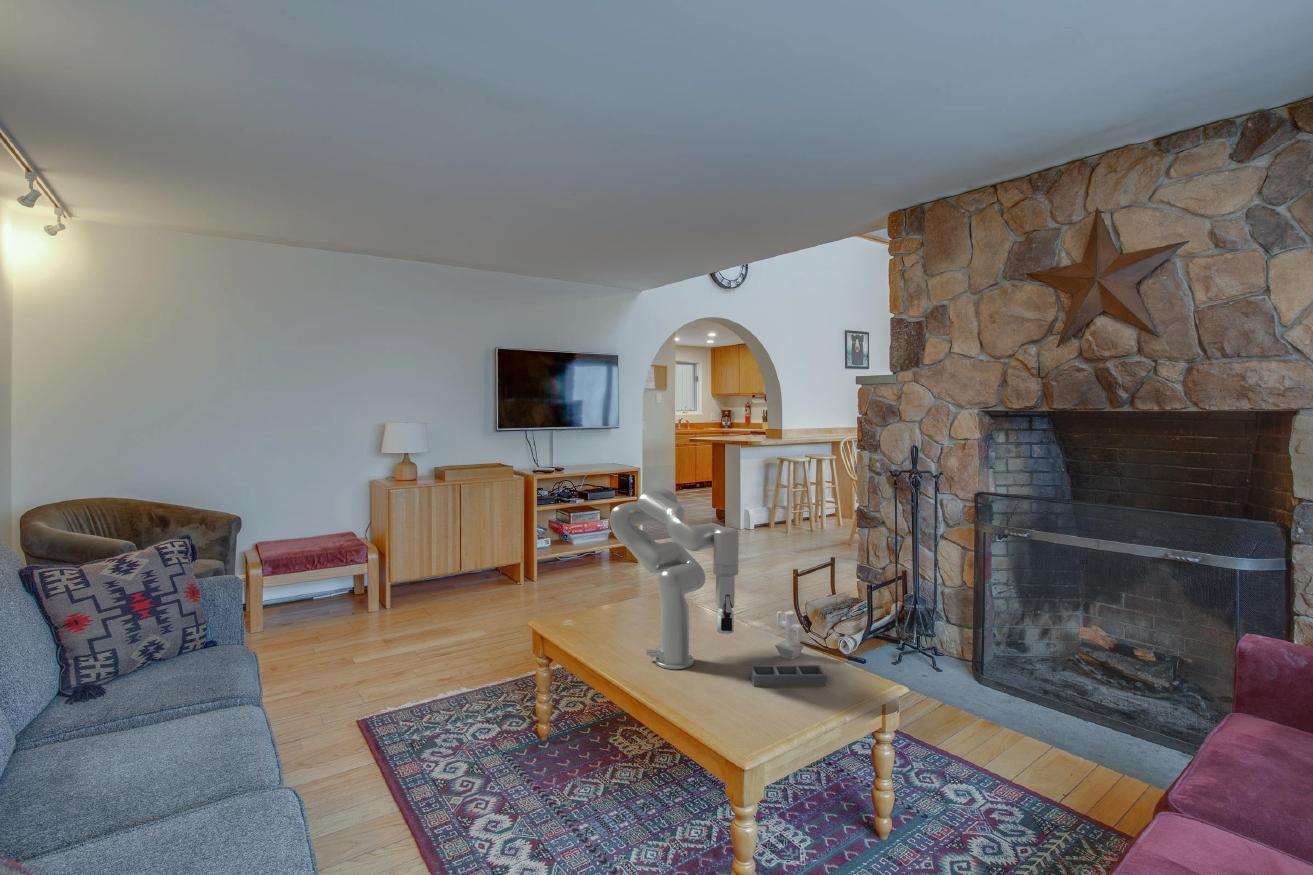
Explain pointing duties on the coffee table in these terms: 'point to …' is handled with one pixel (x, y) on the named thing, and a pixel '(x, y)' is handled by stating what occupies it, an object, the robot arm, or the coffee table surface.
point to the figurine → (789, 636)
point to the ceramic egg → (720, 622)
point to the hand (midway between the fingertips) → (725, 626)
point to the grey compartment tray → (787, 675)
